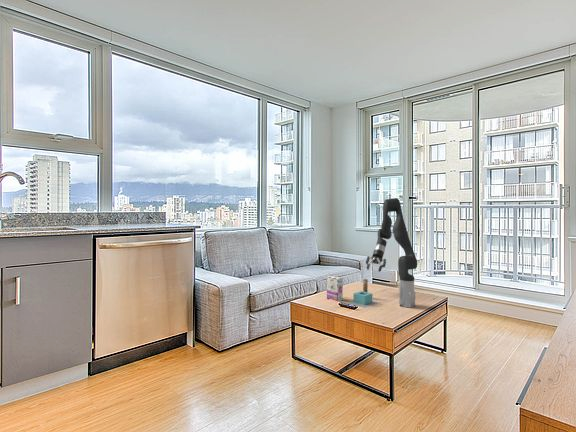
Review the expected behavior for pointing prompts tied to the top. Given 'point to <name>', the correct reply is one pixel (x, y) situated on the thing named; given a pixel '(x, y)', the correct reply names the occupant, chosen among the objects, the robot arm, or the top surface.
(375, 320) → the top surface
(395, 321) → the top surface
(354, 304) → the board
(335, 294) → the candy bar box
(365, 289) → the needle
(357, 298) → the teal block with hole
